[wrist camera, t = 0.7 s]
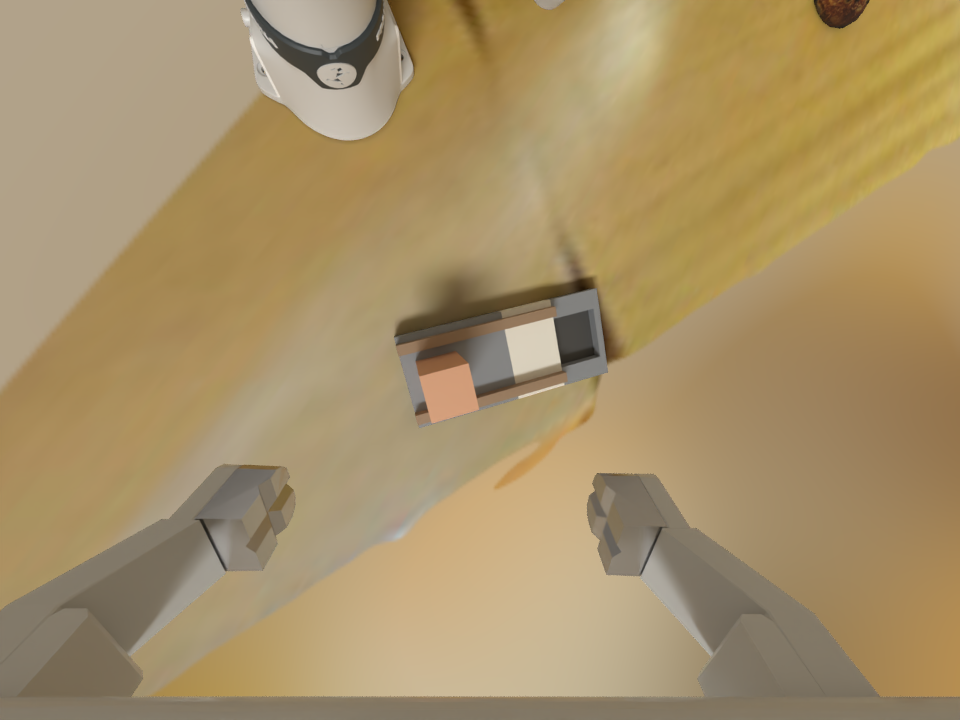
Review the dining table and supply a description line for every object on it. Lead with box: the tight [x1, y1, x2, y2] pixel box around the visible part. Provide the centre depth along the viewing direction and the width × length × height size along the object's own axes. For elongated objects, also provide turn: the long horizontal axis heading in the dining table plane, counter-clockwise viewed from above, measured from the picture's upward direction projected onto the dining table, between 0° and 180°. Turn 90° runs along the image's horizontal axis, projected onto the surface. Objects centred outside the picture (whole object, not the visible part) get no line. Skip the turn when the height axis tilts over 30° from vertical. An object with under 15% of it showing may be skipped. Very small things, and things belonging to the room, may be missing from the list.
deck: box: [394, 288, 608, 428], centre depth 52 cm, size 14×32×4 cm, turn 103°
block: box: [416, 351, 479, 423], centre depth 45 cm, size 6×6×10 cm
